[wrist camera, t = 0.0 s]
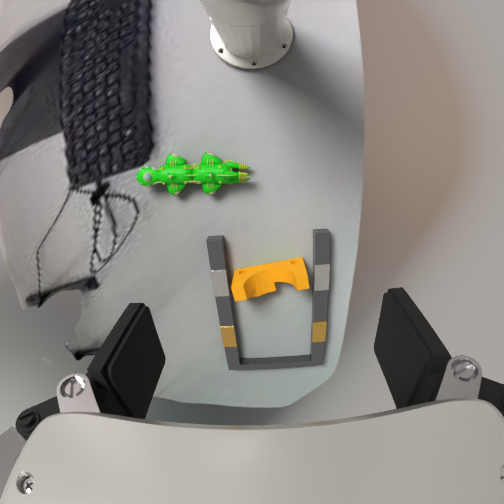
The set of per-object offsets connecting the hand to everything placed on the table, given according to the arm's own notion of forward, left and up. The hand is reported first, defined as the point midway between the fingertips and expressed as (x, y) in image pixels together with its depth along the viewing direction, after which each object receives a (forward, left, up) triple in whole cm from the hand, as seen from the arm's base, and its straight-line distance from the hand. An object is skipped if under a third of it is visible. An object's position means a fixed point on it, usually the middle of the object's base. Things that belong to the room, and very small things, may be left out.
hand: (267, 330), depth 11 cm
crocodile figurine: (-2, -11, -37) cm, 39 cm away
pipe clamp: (+17, 0, -37) cm, 41 cm away
